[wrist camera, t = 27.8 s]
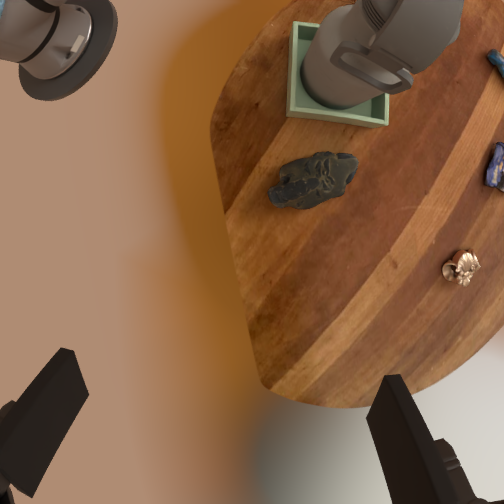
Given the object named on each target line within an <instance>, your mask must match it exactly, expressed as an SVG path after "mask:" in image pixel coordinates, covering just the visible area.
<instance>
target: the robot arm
mask: <svg viewBox="0 0 504 504" xmlns="http://www.w3.org/2000/svg"><path fill="white" fill-rule="evenodd" d="M66 1H67V0H0V59H2V60H7V61H11V62H16V63H19V64H20V65H21V66H22V67H24V68H25V69H26V70H27V71H28V72H29V73H30V74H31V75H32V76H34V77H36V78H38V79H43V80H52V79H56V78H58V77H60V76H62V75H64V74H65V73H67V72H68V71H69V70H70V69H72V68H73V67H74V66H75V65H76V64H77V62H78V61H79V60H80V59H81V58H82V56H83V55H84V53H85V52H86V50H87V48H88V46H89V44H90V42H91V39H92V36H93V32H94V20H93V17H92V15H91V13H90V12H89V11H88V10H86V9H85V8H83V7H81V6H78V5H72V4H63V3H65V2H66ZM88 396H89V393H88V390H87V388H86V385H85V382H84V380H83V377H82V374H81V371H80V368H79V365H78V362H77V359H76V356H75V353H74V351H73V350H69V349H65V348H60V349H59V350H58V352H57V353H56V354H55V355H54V356H53V357H52V358H51V359H50V361H49V362H48V363H47V364H46V366H45V367H44V368H43V369H42V370H41V371H40V373H39V374H38V375H37V376H36V378H35V379H34V380H33V381H32V383H31V384H30V385H29V386H28V387H27V389H26V390H25V391H24V393H23V394H22V395H21V396H20V398H19V399H18V400H17V402H15V401H13V400H12V401H10V402H9V403H7V404H5V405H4V406H3V407H2V408H1V409H0V504H15V503H14V499H13V495H12V491H11V489H10V487H9V485H10V483H11V484H12V485H13V486H14V487H16V488H17V490H19V491H20V492H22V493H24V494H26V495H27V496H29V497H31V498H33V496H34V494H35V492H36V490H37V487H38V486H39V484H40V482H41V480H42V478H43V476H44V474H45V472H46V470H47V468H48V466H49V464H50V462H51V461H52V459H53V457H54V455H55V453H56V451H57V449H58V448H59V446H60V444H61V442H62V441H63V438H64V437H65V435H66V433H67V432H68V430H69V428H70V426H71V425H72V423H73V421H74V420H75V418H76V416H77V414H78V413H79V411H80V409H81V408H82V406H83V404H84V403H85V401H86V399H87V398H88ZM366 420H367V423H368V426H369V428H370V431H371V435H372V438H373V441H374V444H375V447H376V450H377V453H378V457H379V460H380V463H381V466H382V470H383V473H384V476H385V480H386V483H387V486H388V490H389V493H390V497H391V500H392V504H504V500H501V501H494V502H487V501H486V500H484V499H481V498H477V497H476V496H475V494H474V492H473V490H472V488H471V486H470V483H469V481H468V479H467V477H466V475H465V472H464V470H463V468H462V467H461V466H460V465H461V464H460V462H459V460H458V459H457V458H456V457H457V456H456V454H455V452H454V450H453V448H452V446H451V445H450V444H449V443H448V442H446V441H445V440H444V439H443V438H442V439H439V440H435V441H434V440H433V438H432V436H431V434H430V431H429V429H428V428H427V425H426V423H425V421H424V419H423V417H422V415H421V413H420V411H419V409H418V408H417V405H416V404H415V402H414V400H413V398H412V396H411V394H410V392H409V390H408V388H407V386H406V384H405V383H404V381H403V379H402V377H401V375H400V374H396V375H385V376H384V378H383V380H382V383H381V385H380V387H379V390H378V392H377V395H376V397H375V399H374V402H373V404H372V406H371V408H370V411H369V413H368V415H367V417H366Z"/></svg>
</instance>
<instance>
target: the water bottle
mask: <svg viewBox="0 0 504 504" xmlns="http://www.w3.org/2000/svg"><path fill="white" fill-rule="evenodd" d="M463 4H464V0H357V1H356V2H355V4H354V5H346V6H342V7H339V8H337V9H335V10H333V11H331V12H330V13H329V14H328V15H327V16H326V17H325V18H324V19H323V21H322V23H321V24H320V26H319V28H318V30H317V32H316V34H315V36H314V38H313V40H312V42H311V44H310V46H309V48H308V50H307V52H306V55H305V57H304V59H303V61H302V64H301V67H300V78H301V82H302V85H303V87H304V89H305V91H306V92H307V94H308V95H309V96H310V97H311V98H312V99H313V100H314V101H316V102H317V103H319V104H320V105H322V106H324V107H327V108H330V109H336V110H344V109H349V108H352V107H354V106H356V105H359V104H361V103H363V102H365V101H367V100H369V99H372V98H374V97H376V96H378V95H381V94H383V93H387V94H393V95H394V94H397V93H400V92H402V91H405V90H408V89H410V88H411V86H412V84H413V81H414V80H413V77H412V76H411V75H410V74H409V73H410V72H411V73H412V74H417V73H419V72H421V71H423V70H425V69H426V68H427V67H428V66H429V65H431V64H432V63H433V62H434V61H435V60H436V59H437V58H438V57H439V56H440V54H441V53H442V52H443V50H444V49H445V48H446V46H448V45H450V44H451V43H453V42H454V41H455V40H456V39H457V37H458V35H459V32H460V18H461V14H462V10H463Z"/></svg>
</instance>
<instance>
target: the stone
mask: <svg viewBox="0 0 504 504" xmlns="http://www.w3.org/2000/svg"><path fill="white" fill-rule="evenodd" d="M358 163H359V162H358V159H357V158H356V157H354V156H353V155H352V154H346V153H337V154H336V155H335V154H334V153H331V152H329V151H328V152H320V153H319V152H317V153H315V154H314V155H313V157H310V158H303V159H298V160H295V161H293V162H290V163H288V164H286V165H283V166H282V167H281V169H280V172H279V176H280V182H279V183H278V184H277V185H276V186H272V187H270V189H269V190H268V192H267V193H268V196H269V199H270V201H271V203H272V204H273V205H274V206H276V207H278V208H283V207H288V206H291V207H293V208H296V209H310V208H312V207H314V206H316V205H318V204H320V203H322V202H324V201H326V200H329V199H331V198H335V197H340V196H342V195H343V194H344V192H345V187H346V185H347V184H348V183H350V182H351V180H352V179H353V177H354V175H355V173H356V170H357V167H358Z"/></svg>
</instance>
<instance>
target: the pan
mask: <svg viewBox="0 0 504 504" xmlns="http://www.w3.org/2000/svg"><path fill="white" fill-rule="evenodd" d="M319 26H320V24H314V23H306V22H298V21H293V25H292V28H291V32H290V36H289V61H288V83H287V103H286V117H296V118H306V119H315V120H323V121H331V122H338V123H345V124H351V125H357V126H363V127H369V128H377V127H382V126H388V119H389V94H387V93H383V94H381V95H378V96H376V97H374V98H372V99H369V100H367V101H365V102H363V103H361V104H359V105H356V106H354V107H352V108H349V109H344V110H336V109H330V108H327V107H324V106H322V105H320V104H319V103H317V102H316V101H314V100H313V99H312V98H311V97H310V96H309V95H308V94H307V92H306V91H305V89H304V87H303V85H302V82H301V78H300V67H301V64H302V61H303V59H304V57H305V55H306V52H307V50H308V48H309V46H310V44H311V42H312V40H313V38H314V36H315V34H316V32H317V30H318V28H319Z"/></svg>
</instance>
